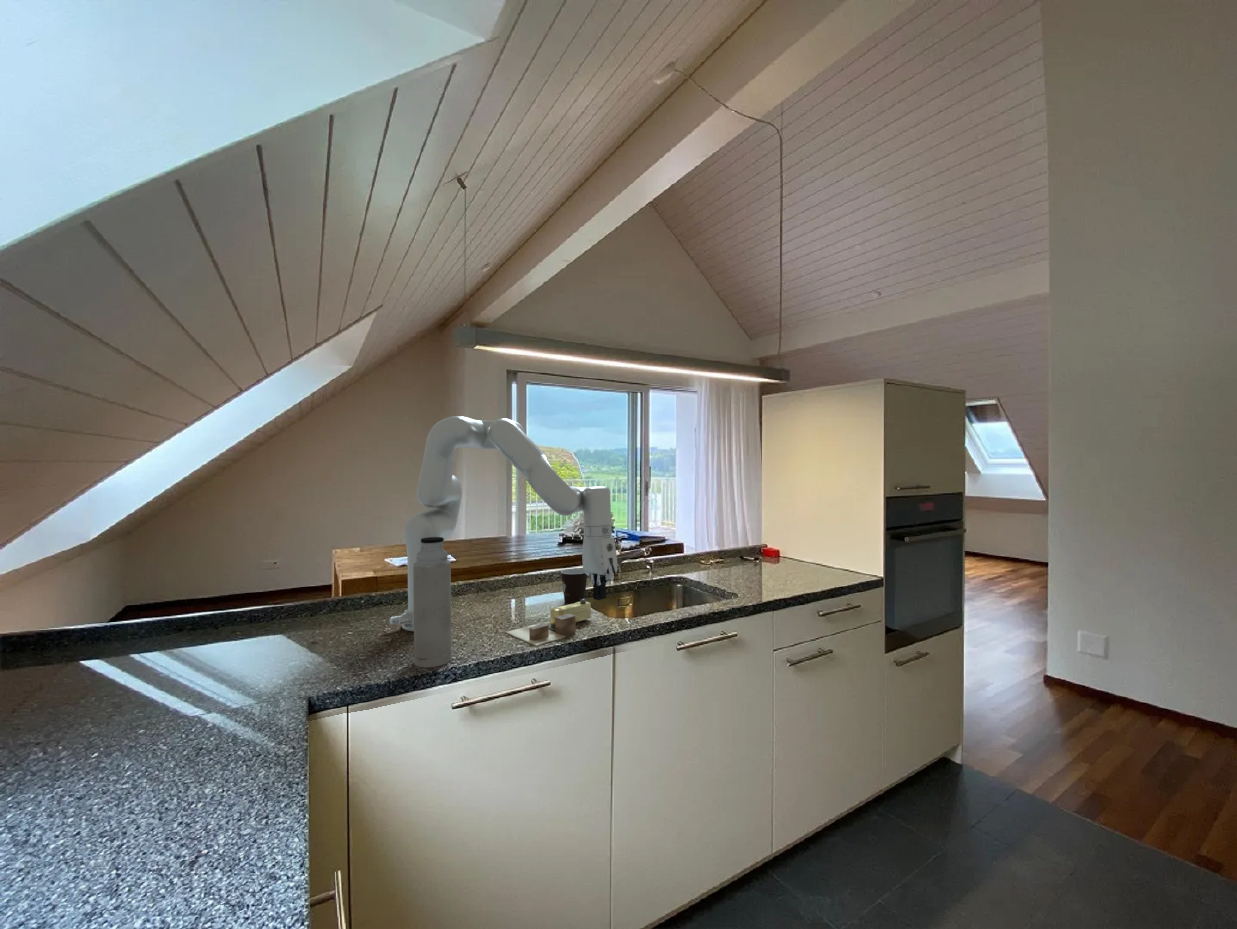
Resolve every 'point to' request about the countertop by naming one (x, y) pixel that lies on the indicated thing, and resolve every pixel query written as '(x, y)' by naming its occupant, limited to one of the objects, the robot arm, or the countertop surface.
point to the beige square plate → (524, 635)
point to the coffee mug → (573, 585)
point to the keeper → (539, 632)
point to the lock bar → (572, 611)
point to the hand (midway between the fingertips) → (599, 598)
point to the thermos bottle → (432, 604)
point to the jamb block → (565, 624)
